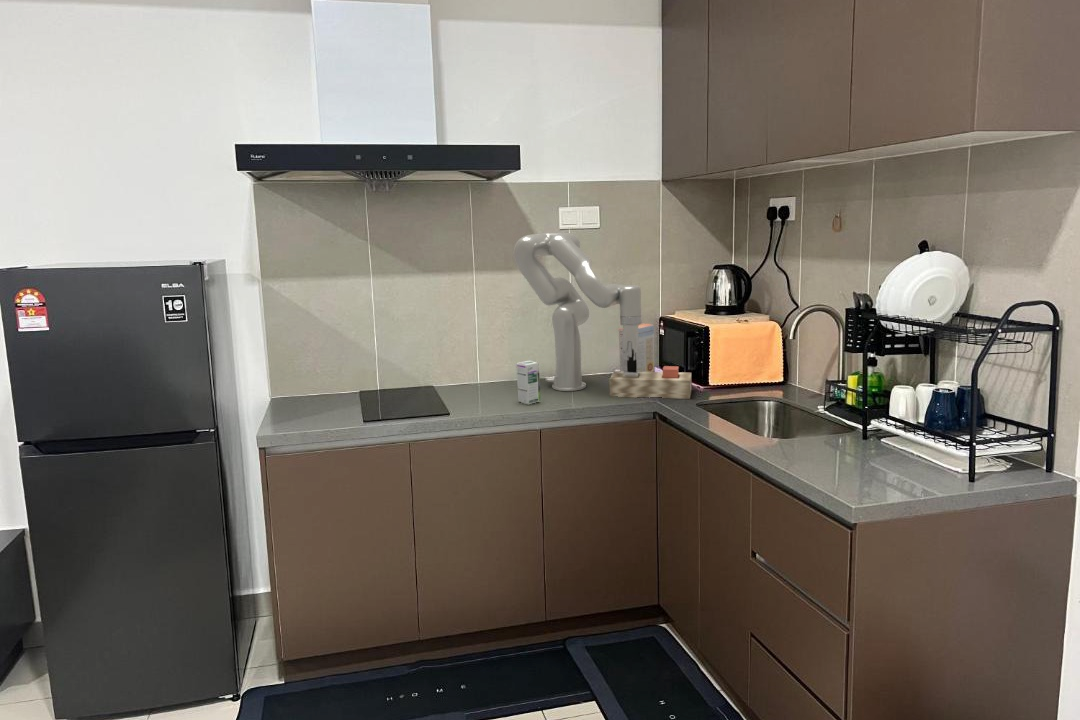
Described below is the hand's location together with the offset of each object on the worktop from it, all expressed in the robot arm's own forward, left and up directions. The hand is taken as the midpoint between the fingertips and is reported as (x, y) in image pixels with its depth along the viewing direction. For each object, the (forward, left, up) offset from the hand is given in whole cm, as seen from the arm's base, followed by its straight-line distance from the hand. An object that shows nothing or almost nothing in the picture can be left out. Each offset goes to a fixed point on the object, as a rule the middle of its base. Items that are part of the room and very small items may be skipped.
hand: (632, 370), depth 282 cm
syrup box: (-34, -16, -9) cm, 39 cm away
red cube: (+14, 0, -3) cm, 14 cm away
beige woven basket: (+7, 0, -8) cm, 11 cm away
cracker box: (0, +20, -9) cm, 22 cm away
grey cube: (0, 0, -5) cm, 5 cm away
